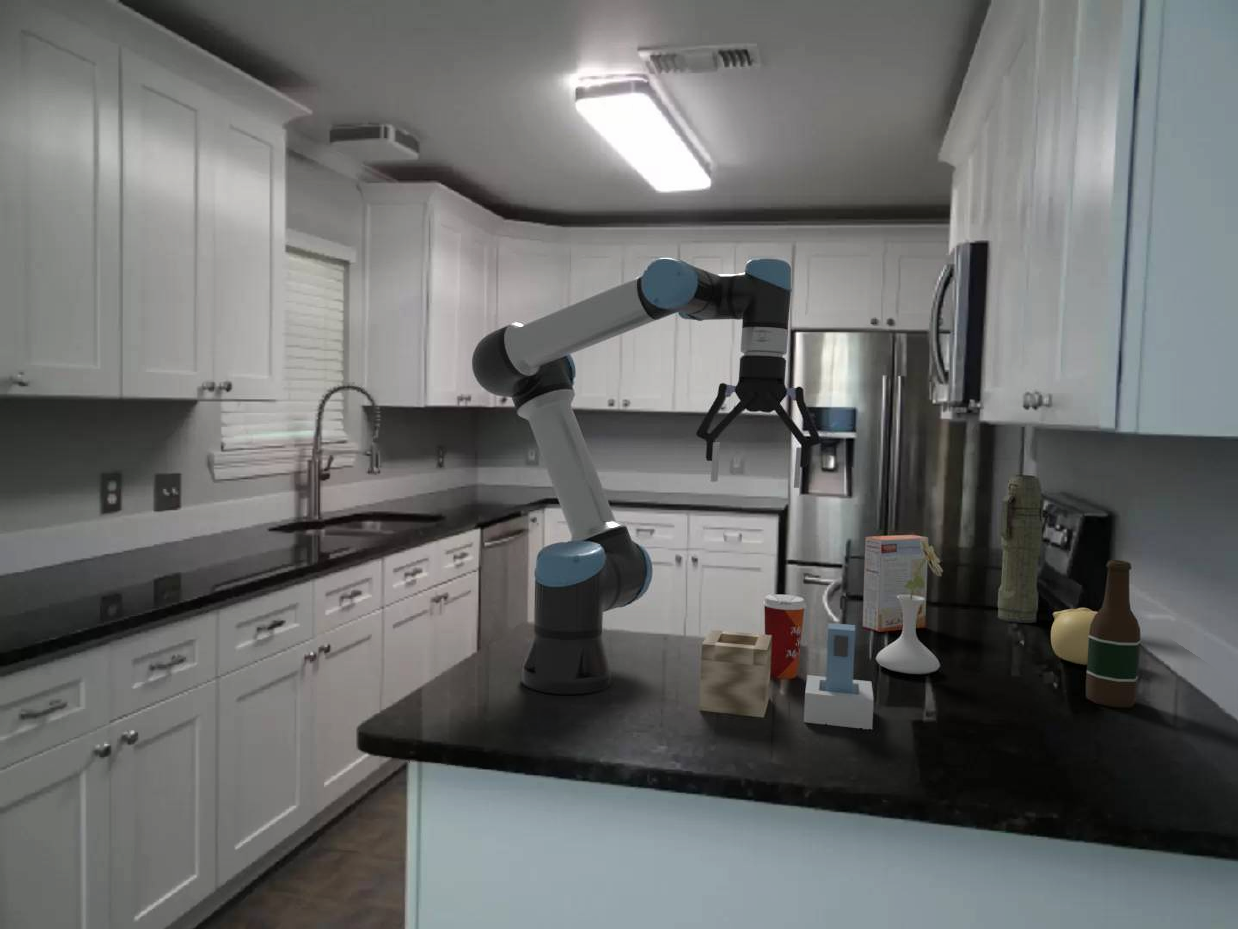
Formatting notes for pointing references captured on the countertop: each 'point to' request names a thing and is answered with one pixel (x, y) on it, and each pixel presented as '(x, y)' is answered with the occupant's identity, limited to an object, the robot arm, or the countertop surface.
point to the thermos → (1020, 549)
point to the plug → (840, 658)
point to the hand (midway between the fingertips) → (754, 484)
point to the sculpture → (1072, 634)
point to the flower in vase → (912, 628)
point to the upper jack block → (735, 673)
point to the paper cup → (784, 633)
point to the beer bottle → (1114, 644)
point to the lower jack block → (838, 704)
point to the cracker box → (891, 580)
